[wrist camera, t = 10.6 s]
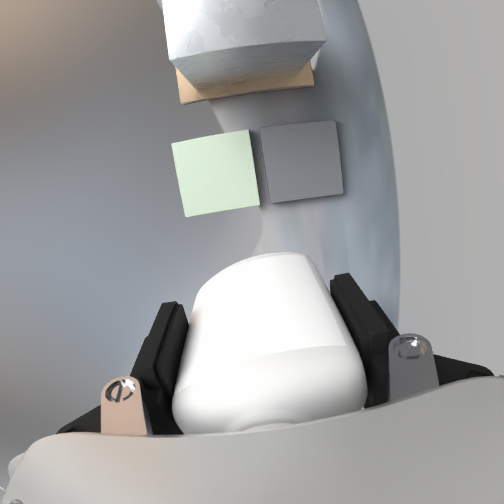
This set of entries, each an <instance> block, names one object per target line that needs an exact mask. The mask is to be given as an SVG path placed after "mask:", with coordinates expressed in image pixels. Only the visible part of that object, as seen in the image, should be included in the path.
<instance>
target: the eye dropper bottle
mask: <svg viewBox="0 0 504 504" xmlns="http://www.w3.org/2000/svg"><path fill="white" fill-rule="evenodd" d="M367 395H368V390H367V381H366V375H365V370H364V367H363V364H362V360H361V357H360V354H359V352H358V350H357V347H356V345H355V343H354V341H353V339H352V336H351V334H350V332H349V330H348V328H347V326H346V324H345V322H344V320H343V318H342V316H341V314H340V312H339V310H338V308H337V306H336V304H335V302H334V300H333V298H332V296H331V294H330V292H329V291H328V289H327V287H326V285H325V283H324V281H323V279H322V277H321V275H320V274H319V272H318V270H317V268H316V266H315V264H314V263H313V261H312V260H311V258H310V257H309V256H308V255H305V254H303V253H300V252H274V253H267V254H262V255H257V256H254V257H250V258H247V259H244V260H242V261H239V262H237V263H235V264H233V265H231V266H229V267H227V268H225V269H224V270H222V271H221V272H219V273H218V274H216V275H215V276H214V277H212V278H211V279H210V280H209V281H208V282H207V283H205V284H204V286H202V288H201V289H200V290H199V292H198V294H197V297H196V300H195V303H194V307H193V311H192V315H191V319H190V323H189V328H188V332H187V336H186V340H185V344H184V349H183V353H182V357H181V361H180V366H179V370H178V375H177V379H176V385H175V390H174V395H173V399H172V413H173V416H174V419H175V422H176V424H177V425H178V427H179V428H180V429H181V430H182V432H183V433H184V434H185V435H189V434H210V433H225V432H237V431H247V430H256V429H264V428H271V427H278V426H285V425H291V424H297V423H303V422H308V421H314V420H319V419H324V418H328V417H333V416H338V415H342V414H346V413H350V412H354V411H358V410H361V409H362V408H363V406H364V404H365V401H366V398H367Z"/></svg>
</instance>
